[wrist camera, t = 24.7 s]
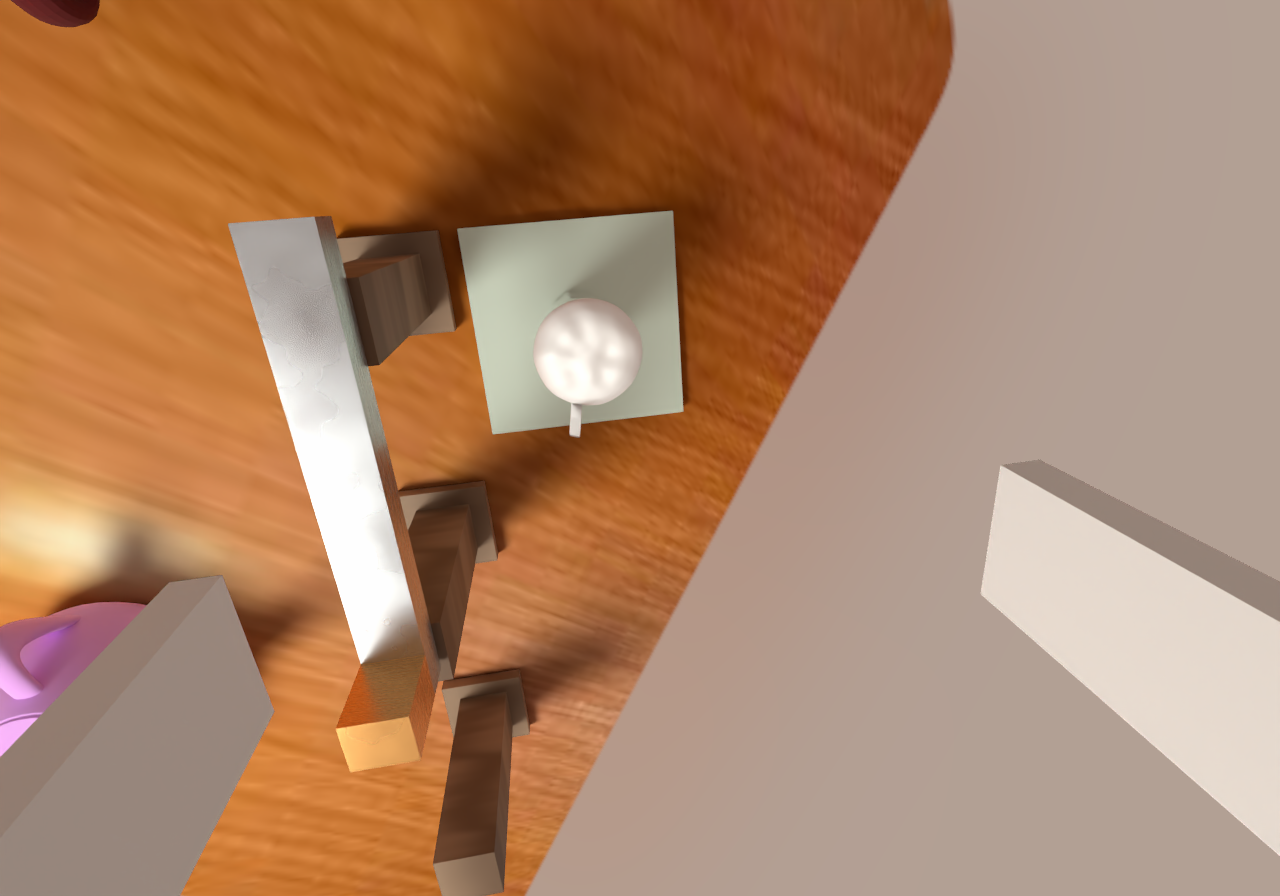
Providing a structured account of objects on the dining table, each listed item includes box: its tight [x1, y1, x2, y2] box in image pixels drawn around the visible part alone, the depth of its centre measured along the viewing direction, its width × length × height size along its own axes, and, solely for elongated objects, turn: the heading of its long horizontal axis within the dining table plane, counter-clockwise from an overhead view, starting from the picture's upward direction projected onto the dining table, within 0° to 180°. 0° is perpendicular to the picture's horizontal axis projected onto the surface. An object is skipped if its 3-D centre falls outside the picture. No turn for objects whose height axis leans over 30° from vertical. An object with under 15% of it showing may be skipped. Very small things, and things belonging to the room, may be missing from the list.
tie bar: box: [228, 216, 441, 772], centre depth 21 cm, size 2×18×5 cm, turn 4°
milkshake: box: [533, 291, 642, 438], centre depth 29 cm, size 4×5×10 cm
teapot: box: [0, 602, 147, 757], centre depth 34 cm, size 12×14×9 cm
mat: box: [457, 211, 683, 434], centre depth 34 cm, size 11×11×1 cm
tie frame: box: [337, 230, 530, 896], centre depth 32 cm, size 5×33×12 cm, turn 4°
